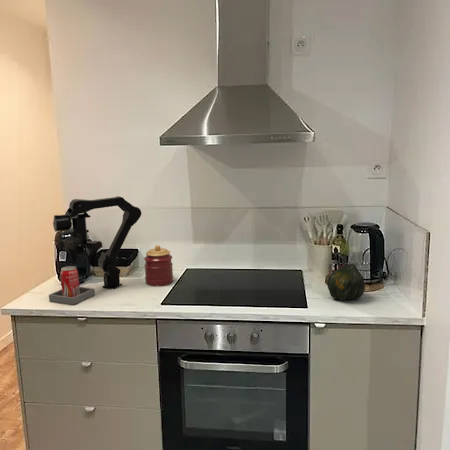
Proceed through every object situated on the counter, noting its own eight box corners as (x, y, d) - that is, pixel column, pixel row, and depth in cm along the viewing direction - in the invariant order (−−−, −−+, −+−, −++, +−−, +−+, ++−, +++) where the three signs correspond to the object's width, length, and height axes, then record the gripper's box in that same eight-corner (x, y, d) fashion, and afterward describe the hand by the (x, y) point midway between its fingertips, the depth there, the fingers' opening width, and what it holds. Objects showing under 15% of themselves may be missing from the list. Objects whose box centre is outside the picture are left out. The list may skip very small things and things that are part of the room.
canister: (161, 288, 213) (159, 249, 209) (139, 284, 219) (137, 246, 216) (179, 280, 223) (177, 243, 220) (157, 276, 230) (155, 241, 227)
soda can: (82, 294, 205) (80, 265, 203) (76, 300, 198) (73, 270, 196) (67, 294, 206) (64, 265, 203) (59, 300, 199) (56, 270, 196)
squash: (314, 284, 195) (337, 261, 186) (334, 277, 205) (356, 255, 197) (336, 312, 189) (360, 290, 180) (355, 304, 199) (379, 282, 191)
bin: (94, 295, 205) (94, 288, 204) (73, 305, 193) (73, 298, 193) (71, 292, 210) (70, 285, 210) (49, 301, 199) (48, 294, 198)
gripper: (49, 231, 201) (52, 266, 204) (84, 233, 194) (87, 270, 197) (67, 226, 211) (70, 260, 214) (101, 228, 204) (104, 263, 207)
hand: (82, 263), depth 208 cm, fingers open, 9 cm apart
